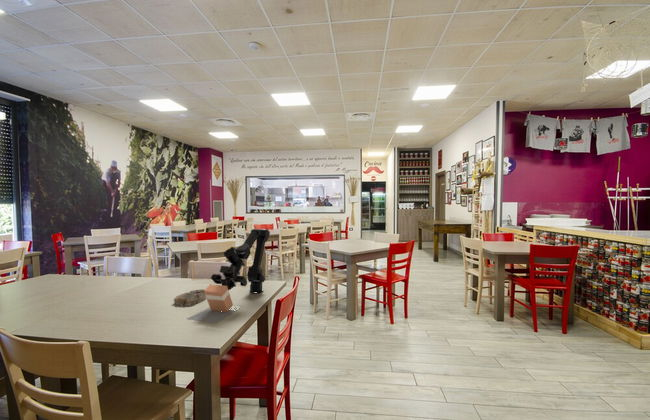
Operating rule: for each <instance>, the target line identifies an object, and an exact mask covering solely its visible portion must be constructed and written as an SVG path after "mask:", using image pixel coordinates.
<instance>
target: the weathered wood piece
mask: <svg viewBox="0 0 650 420" xmlns="http://www.w3.org/2000/svg"><path fill="white" fill-rule="evenodd" d="M204 291H205V289H195V290H190V291H189V292H184V293H181V294H178V295H177V296H175V297H174V299H173V303H174V304H175V305H177V306H181V305H183V306H186V307H191V306H195V305H197V304H200V303H202V302H203V301H207V298H206V296H205V293H204Z"/></svg>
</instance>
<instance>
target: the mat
mask: <svg viewBox="0 0 650 420" xmlns="http://www.w3.org/2000/svg"><path fill="white" fill-rule="evenodd" d="M239 306H240V305H239ZM240 307H242V306H240ZM235 308H236V307H235ZM235 308H234V309H235ZM231 309H232V308H231ZM231 309H230V310H229V311H228V312H221V311H214V310H211V309H210V307H208V308H206V309H204V310H201V311H200V312H198V313H195V314H193V315H191V316H190V317H187V318H186V320H191V321H198V322H204V323H206V322H207V323H211V324H212V323H213V324H217V323H219V322H220V321H222V320H224V319H226V318H227V317H229V316H231V315H232V314H234V313H235V312H238V310H236V309H237V308H236V309H235V310H236V311H234V310H231ZM239 310H241V309H240V308H239Z"/></svg>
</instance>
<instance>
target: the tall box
mask: <svg viewBox="0 0 650 420" xmlns="http://www.w3.org/2000/svg"><path fill="white" fill-rule="evenodd" d="M204 290H205V291H204V293H205V296H206V298H207V299H206V301H207V303H208V307H209V308H210V309H211V310H214V311H222V312H228V311H229V309H230V308H231V307H232V306H234V304H233V300H232V298H231V293H230V290H228V288H227V286H224V285H222V284H213V283H211V284H209V285H208V286H207V287H206V288H205V289H204Z"/></svg>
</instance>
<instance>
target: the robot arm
mask: <svg viewBox="0 0 650 420" xmlns="http://www.w3.org/2000/svg"><path fill="white" fill-rule="evenodd" d="M270 233H271V231H270V230H269V229H268V228H252V229H251V230H250V233H249V235H248V236H247V238H246V239H245V241H244V242H243V243H242V244H241V245H239V246H238V247H237V248H235V246H230V248H228V249H227V250H225V251H224V253H223V256H224V257H225V258H226V260H227V261H228V263H229V264H230V266H229V265H228V266H227V265H221V266H220V269H219V273H214V274H213V273H212V275H211V277H210V279H211V280H212V281H213V283H214V284H215V285H224V286H227V288H228V290H229V291H231V289H233V288H234V287H237V285H236V284H237V283H240V286H241V287H247V285H248V283H250V285H249V287H250V289H249V291H250V292H249V293H252V292H260V293H262V292H261V291H262V290H263V283H264V282H265V281H266V280H265V279H266V278H265V276H264V273H263V268H262V263H263V262H262V261H263V256H264V255H263V254H264V249H265V244H266V243H267V241H268V240H269V237H270V235H271V234H270ZM255 242H256V246H255V251H254V254H253V255H254V257H253V262H252V265H251V266H249V267H248V268H247V269H248V270H247V275H246V277H247V279H246V277H245V275H241V271H240V270H242V267H245V265H246V264H245V261H244V260H248V258H250V255H251V252H252V251H251V249H252V247H253V246H254V244H255ZM220 273H222V275H221V274H220Z"/></svg>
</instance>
